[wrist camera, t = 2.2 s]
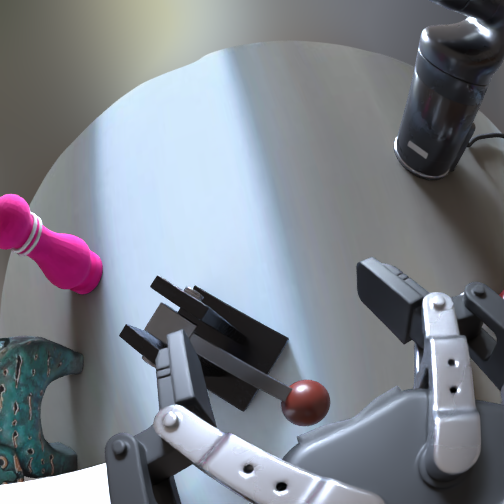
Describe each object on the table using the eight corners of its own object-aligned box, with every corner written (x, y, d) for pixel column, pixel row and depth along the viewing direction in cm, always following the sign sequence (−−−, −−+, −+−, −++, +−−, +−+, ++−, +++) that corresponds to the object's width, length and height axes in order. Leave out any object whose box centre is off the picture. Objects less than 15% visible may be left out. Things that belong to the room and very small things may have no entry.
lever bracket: (289, 339, 30) (281, 308, 17) (245, 410, 28) (201, 436, 15) (198, 288, 34) (137, 228, 21) (157, 351, 32) (74, 328, 19)
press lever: (327, 387, 22) (346, 396, 18) (304, 424, 21) (320, 439, 17) (172, 297, 22) (165, 292, 18) (147, 336, 21) (136, 338, 17)
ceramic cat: (83, 483, 25) (-31, 505, 7) (51, 464, 26) (-58, 471, 8) (94, 352, 33) (-35, 312, 15) (61, 341, 34) (-55, 299, 16)
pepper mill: (101, 298, 36) (-14, 231, 18) (65, 297, 37) (-41, 238, 19) (109, 249, 39) (13, 164, 21) (74, 252, 40) (-18, 180, 22)
